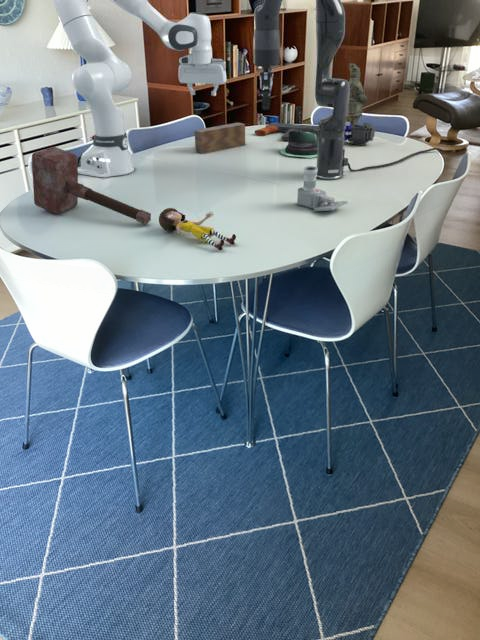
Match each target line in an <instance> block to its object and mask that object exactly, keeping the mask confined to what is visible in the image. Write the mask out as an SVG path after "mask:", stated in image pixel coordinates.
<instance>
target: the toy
mask: <svg viewBox="0 0 480 640" xmlns="http://www.w3.org/2000/svg"><path fill="white" fill-rule="evenodd" d="M357 124H358V123H357ZM357 124H355V125H354V127H352V124H350V122H345V131H344V142H346V141H348V142H349V143H352V145H358V146H359V145H360V146H366V144H367V143H369V142H373V140H374V138H375V133H376V129H375V127H374V126H372V123H370V122H363V124H358V125H357Z"/></svg>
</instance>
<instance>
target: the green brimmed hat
mask: <svg viewBox="0 0 480 640" xmlns="http://www.w3.org/2000/svg"><path fill="white" fill-rule="evenodd" d="M287 142H288V143H287V145H286V146H285V147H283V148H281V149H280V150H279V153H280V154H282V155H285V156H289V157H296V158H297V157H298V158H307V159H309V158H310V159H311V158H313V159H314V158H317V148H318V130H316V129H311V128H298V129H294V130H291V131H289V140H287Z"/></svg>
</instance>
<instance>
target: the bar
mask: <svg viewBox="0 0 480 640" xmlns="http://www.w3.org/2000/svg"><path fill="white" fill-rule="evenodd" d="M193 132H194V145H195V152H196V153H199V154H208V153H213V152H217V151H223V150H228V149H233V148H237V147H242V146H245V145H246V123H242V122H233V123H227V124H222V125H217V126H211V127H206V128H200V129H195V130H194V131H193Z"/></svg>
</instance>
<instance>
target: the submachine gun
mask: <svg viewBox="0 0 480 640" xmlns="http://www.w3.org/2000/svg"><path fill="white" fill-rule="evenodd" d="M318 126H319V125H311V124H300V123H299V124H297V123H285V122H268V124H266V125H265V126H264V127H262V128H259V129H256V130H254V134H255V135H257V136H266V135H268V134H272V133H276V132H277V133H279V132H280V133H284V134H282V135H281V137H280V140H281V141H288V140H289V131H291V130H294V129H298V128H311V129H316V130H318V128H319V127H318Z"/></svg>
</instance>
